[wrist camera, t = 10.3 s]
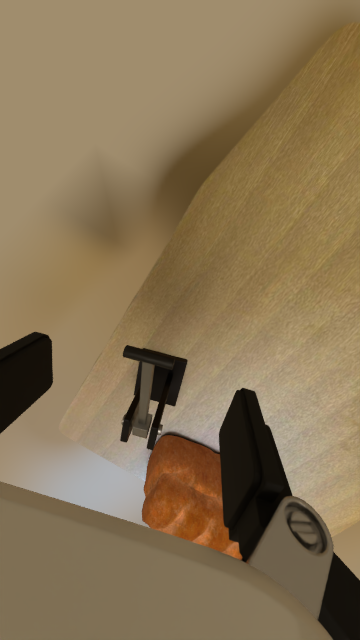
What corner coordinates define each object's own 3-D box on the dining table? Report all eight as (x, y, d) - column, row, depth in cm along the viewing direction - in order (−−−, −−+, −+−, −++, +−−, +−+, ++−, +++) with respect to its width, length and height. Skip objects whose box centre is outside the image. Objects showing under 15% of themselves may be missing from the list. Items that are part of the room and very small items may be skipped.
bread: (239, 502, 52) (251, 601, 37) (145, 461, 51) (120, 545, 36) (270, 471, 47) (297, 573, 32) (166, 425, 46) (146, 507, 31)
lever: (129, 338, 21) (120, 356, 19) (177, 350, 20) (171, 369, 19) (129, 416, 32) (123, 432, 30) (159, 425, 32) (155, 441, 30)
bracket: (143, 347, 40) (111, 397, 27) (187, 359, 39) (177, 415, 26) (135, 391, 44) (105, 452, 31) (175, 402, 43) (162, 468, 30)
